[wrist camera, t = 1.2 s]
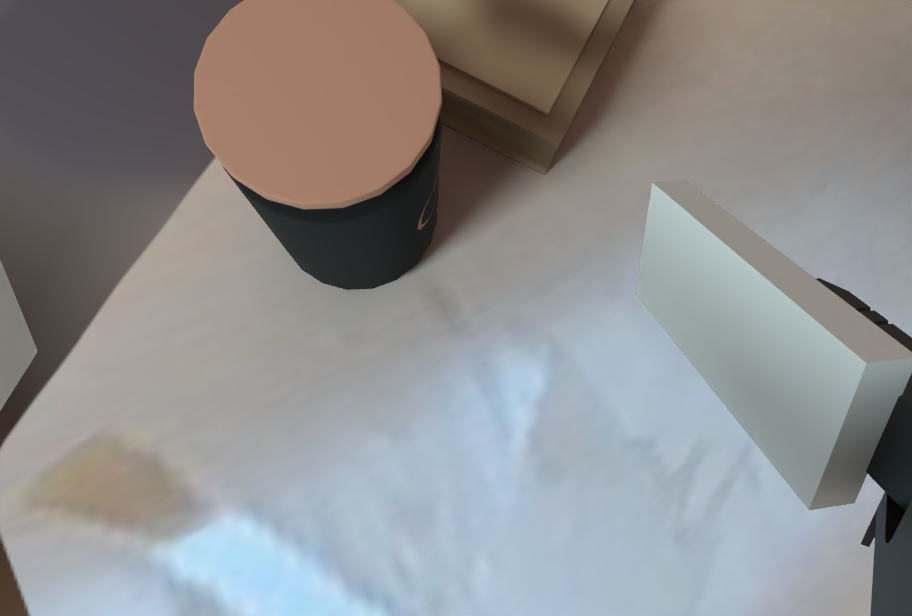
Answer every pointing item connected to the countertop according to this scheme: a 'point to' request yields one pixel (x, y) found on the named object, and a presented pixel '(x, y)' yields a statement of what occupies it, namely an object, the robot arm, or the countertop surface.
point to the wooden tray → (517, 66)
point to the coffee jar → (328, 130)
